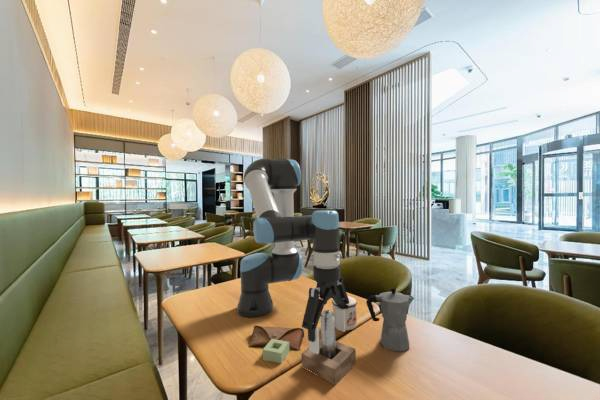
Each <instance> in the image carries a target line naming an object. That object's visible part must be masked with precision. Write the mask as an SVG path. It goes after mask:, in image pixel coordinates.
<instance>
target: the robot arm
mask: <svg viewBox="0 0 600 400" xmlns="http://www.w3.org/2000/svg"><path fill="white" fill-rule="evenodd" d="M243 182H244V186H245V187H246V188H247V190H248V191H249V194H250V197H251V201H252V205H253V208H254V213H255V215H256V218H255V219H253V223H252V226H253V227H252V231H253V238H254V241H255V242H256V243H257V244H275V245H274V248H273V249H272V250H271V255H268V253H266V252H256V253H252V254H249V255H246V256H244V257H243V258H242V259H241V260H240V268H239V271H240V296H239V300H238V302H237V308H236V309H237V311H238V312H237V314H238V313H239V314H238V315H239V316H241V317H244V318H256V317H264V316H265V315H267V314H270V313H271V312H272V311H273V310H274V301H273V299H272V296H271V294H270V291H269V284H274V283H275V284H276V283H282V282H291V281H296V280H298V279H299V278H300V277H301V275H302V273H303V263H304V261H303V257H302V254H301V253H299V249H298V248H296V247H295V242H297V241H298V242H299V241H308V240H310V241H312V264H313V271H312V273H313V279H314V281H316V286H315V287H316V288H313V287H310V288H309V289H308V298H307V303H306V306H305V311H304V315H303V319H302V323H301V327H302V329H306V330H307V339H308V348H309V351H311V352H313V353H316V354H318V353H319V339H320V338H319V337H320V336H319V335H320V330H319V327H318V324H319V321H320V320H321V314H322V313H323V311H324V310H323V309H324V308H325V305H327V303H328V301H329V300H330V299H332V300H334V301H335V303H336V304H337V306H338V307H339V308H338V307H337V308H336V327H335V330H337V331H340V332H343V333H345V332H346V330H345V309H348V307H349V306H348V305H346V304H349V299H348V296H349V295H348V294H347V290H346V288H345V284H344V277H342V276H341V266H340V264H341V261H340V260H341V255H340V224H341V223H340V220H339V217H340V216H339V212H337V210H329V209H328V210H327V209H325V210H324V209H323V210H314V211H313V212H312V214H305V215H299V216H298V215H297V216H295V209H294V208H295V207H294V206H295V204H294V193H296V191H297V190H298V189H297V188H298V187H297V186H300V185H301V182H302V171H301V167H300V164H299V162H297V161H296V160H295V159H291V158H259V159H257V160H254V161H253V162H251V163H250V164H249V165H248V166H247V167H246V169H245V171H244V173H243ZM347 295H348V296H347Z"/></svg>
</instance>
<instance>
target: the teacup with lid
mask: <svg viewBox="0 0 600 400" xmlns="http://www.w3.org/2000/svg"><path fill="white" fill-rule="evenodd" d="M347 296H348V299H349V304H346V305H348V306H349V307H348V309H345V331H350V330H351V331H352V330H354V329H356V327H357V325H358V322H357V321H358V319H357V315H358V314H357V304H358V302H357V299H356V298H354V297H352V296H349V295H348V294H347ZM331 303H332V313H333V314H334V315H335V328H336V308H337V307H338V306H337V304H336V303H335V301H334V300H333V299H332V301H331ZM338 308H339V307H338Z"/></svg>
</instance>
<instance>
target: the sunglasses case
mask: <svg viewBox="0 0 600 400" xmlns="http://www.w3.org/2000/svg"><path fill="white" fill-rule="evenodd" d="M304 338H305V330H304V328H303V327H302V328H301V327H295V328H293V327H280V326H279V327H278V326H261V325H254V326H253V330H252V334H251V338H250V341H249V343H248V346H247V347H248V348H265V346H266V345H267V344H268V343H269V341H270V340H271V339H276V340H282V341H287V342H289V350H294V351H301V346H302V343H303V340H304Z"/></svg>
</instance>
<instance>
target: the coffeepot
mask: <svg viewBox="0 0 600 400" xmlns="http://www.w3.org/2000/svg"><path fill="white" fill-rule="evenodd" d="M396 291H397V288H396V287H390V291H385V292H380V293H379V294H376V295H370V296H369V297H368V298H367V299H366V302H365V303H366V306H367V308H368V312H369V313H370V314H369V315H370V317H371V319H372V321H373V322H379V321H380V318H379V317H376V312H375V310H374V305H373V303H374V302H375V303H379V305H380V311H381V316H382V319H383V321H382V326H381V327H382V328H381V335H380V344H381V345H382V346H383V347H384V348H385V349H387V350H390V351H391V352H399V353H401V352H405V351H408V350H409V349H410V340H409V335H408V334H409V333H408V328H407V323H406V321H407V316H408V310H409V309H408V308H409V307H410V306H411V303H412V301H414V300H415V297H413V296H412V295H408V294H404V293H401V292H396Z"/></svg>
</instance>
